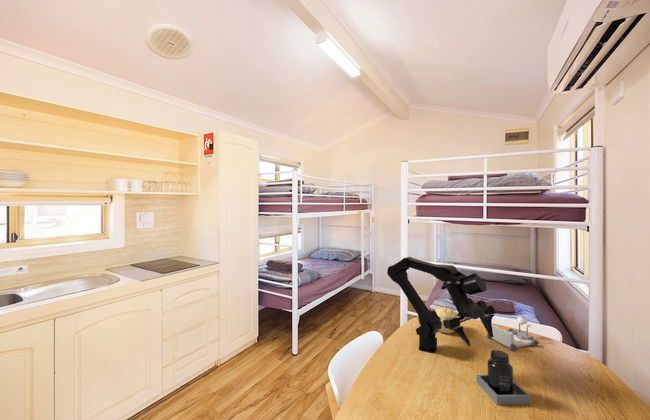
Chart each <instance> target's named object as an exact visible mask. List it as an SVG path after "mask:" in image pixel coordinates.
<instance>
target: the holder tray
mask: <svg viewBox="0 0 650 420" xmlns="http://www.w3.org/2000/svg"><path fill="white" fill-rule="evenodd" d="M476 383H477V384H478V386H480V387H481V389H482V390H483V391H484V392H485V393H486V395H487V396H488V397H489V398H490V399H492V401H493V402H494V403H495V404H496V405H498V406H501V405H502V406H503V405H507V406H509V405H531V395H530V394H529V393H528V392H527V391H525V390H524V388H522V387H521V386H520V385H519V384H518V383H517V382H516V381H515V380H513V395H497V394H496V393H495V392H494V391H493V390H492V389H491V388H490V387H489V385H488V374H476Z"/></svg>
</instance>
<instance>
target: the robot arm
mask: <svg viewBox="0 0 650 420" xmlns="http://www.w3.org/2000/svg"><path fill="white" fill-rule="evenodd" d="M410 268H411V269H413V270H417V271H421V272H423V273H427V274H430V275H432V276H433V277H435V279H437V280H440V281H441V282H442V286H441V287H440V290H442V291H443V290H446V289H447V291H448V294H449V296H450V298H451V301H452V303H451V304H452V306H454V307H455V309H456V311H457V313H456V314H457V316H458V318H457V317H451V318H448V319H445V320H443V325H444V327H445V328H448V329H449V330H453V331H454V332H453V333H455V334H457V336H458V337H460V338H461V339H462V340H463V342H464V343H465V345H467V346H468V347H471V343H470V340H469V338H468V336H467V335H466V332H465V331H464V330H465V329H464V326H463V325H461V323H464V322H466V321H469V320H471V319H472V320H478V319H479V320H480V322H481V324H482V325H483V326H484V329H485V330H486V332H487V333H488V334H489V335H490V337H493V331H492V324H493V323H492V320H493V318H494V317H495V316H496V315H495V314H497V313H498V311H497V310H496V308H495V307H494V306H493V305H492V304H491V305H490V304H487V303H486V302H485V300H483V299H481V300H478V301H477V302H474V301H473V299H472V298H470V297H469V296H472V295H476V294H480V293H485V292H486V291H487V284H486V282H485V281H484V280H483V278H482V277H480V275H478V273H477V272H474V273H471V274H468V275H466V274H463V273H462V272H460V271H459V270H458V269H457V267H456V266H454V265H451V264H436V263H431V262H429V261H424V260H421V259H417V258H414V257H411V256H407V257H403V258H402V259H401V260H400V261H398V262H396V263H394V264H392V265H389V266H388V267H387V271H386V272H387V275H388V277H389V278H390V280H391V281H393V282H394V283H396V284H397V285H398V286H399V287H400V289H401V290H402V292H403V294H404V295H405V296H406V298H407V300H408V301H409V303H410V304H411V306H412V308H413V309H414V311H415V312H416V314H417V318H418V324H419V326H418V327H417V328H415V331H416V332H415V333H416V335H417V336H418V337H419V338H418V339H419V340H418V343H419V345H418V350H419V351H422V352H427V353H431V354H436V351H437V350H438V337H436V336H437V334H438V332H439V331H438V330H440V329H441V328H442V322H441V320H440V319H441V318H440V317H439V316H438V315H437V313H436V311H435V310H436V309H435V310H430V309H429V308H428V307H427V305H426V304H425V302H424V301H423V299H422V298H421V296H420V295H419V293H418V292H417V291H416V289H415V288H414V286H413V285H412V283H411V282H410V280H409V276H408V270H409V269H410ZM468 295H469V296H468Z"/></svg>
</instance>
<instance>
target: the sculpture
mask: <svg viewBox="0 0 650 420" xmlns="http://www.w3.org/2000/svg"><path fill="white" fill-rule="evenodd" d="M435 311H436V313H437V315H438V316H439V317H440V318H441V319H440V320H441V322H442V328H441V329H440V330H438V332H441V333H444V334H453V333H455V332H454V331H453V330H449V329H448V328H445V327H444V325H443V320H445V319H448V318H451V317H457V318H458V317H459V316H458V315H457V314H458V313H457V312H456V311H455V310H453V309H451V308H449V307H446V306H444V307H440V308H437V309H435Z"/></svg>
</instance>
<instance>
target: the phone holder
mask: <svg viewBox="0 0 650 420" xmlns="http://www.w3.org/2000/svg"><path fill="white" fill-rule="evenodd" d="M516 318H517V323H518V330H515V329H513V328H508V329H507V330H505V329H503V328H501V327H499V326H497V325H495V324H493V323H492V331H493V337H490V335H489V334H488V332H487V334H486V338H487V339H492V340H494V341H495V342H498V343H499V344H501V345H504V346H505V347H507V348H509V350H510V351H511V352H516V351H517V350H518V349H517V348H522V347H526V346H532V347H538V346H539V341H538V340H537V339H534V335H531V334H530V333H529V332H528V331H529V330H528V329H529V328H531V324H529V323H528V320H526V319H525V316H523V317H522V316H517V317H516ZM521 325H524V326H523V327H525V328H526V331H523V330H521Z"/></svg>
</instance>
